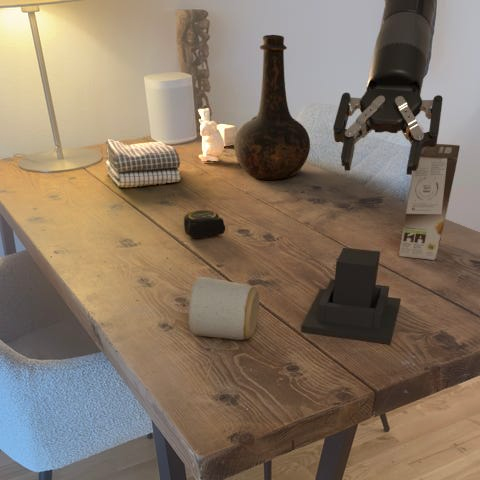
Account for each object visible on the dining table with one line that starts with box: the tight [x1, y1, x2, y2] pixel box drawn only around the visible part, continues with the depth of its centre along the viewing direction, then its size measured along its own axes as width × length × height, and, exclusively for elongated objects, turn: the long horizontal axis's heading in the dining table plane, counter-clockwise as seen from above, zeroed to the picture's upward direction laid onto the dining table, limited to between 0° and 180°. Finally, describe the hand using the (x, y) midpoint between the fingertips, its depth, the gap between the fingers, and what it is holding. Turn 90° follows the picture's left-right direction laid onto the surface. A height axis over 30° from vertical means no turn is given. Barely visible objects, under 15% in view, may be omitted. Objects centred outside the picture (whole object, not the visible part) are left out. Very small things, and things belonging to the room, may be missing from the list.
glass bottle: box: [233, 34, 311, 181], centre depth 128 cm, size 18×18×28 cm
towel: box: [105, 138, 182, 188], centre depth 134 cm, size 15×18×8 cm
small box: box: [217, 123, 238, 146], centre depth 160 cm, size 6×6×5 cm
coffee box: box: [398, 143, 461, 261], centre depth 94 cm, size 9×6×16 cm
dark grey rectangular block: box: [333, 247, 381, 308], centre depth 77 cm, size 5×5×8 cm
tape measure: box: [183, 209, 226, 239], centre depth 105 cm, size 7×7×4 cm
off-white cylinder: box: [188, 276, 260, 341], centre depth 76 cm, size 11×8×8 cm
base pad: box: [300, 278, 402, 346], centre depth 79 cm, size 12×12×4 cm
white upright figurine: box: [197, 107, 225, 162], centre depth 144 cm, size 8×7×12 cm
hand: (377, 169), depth 78 cm, fingers open, 8 cm apart
